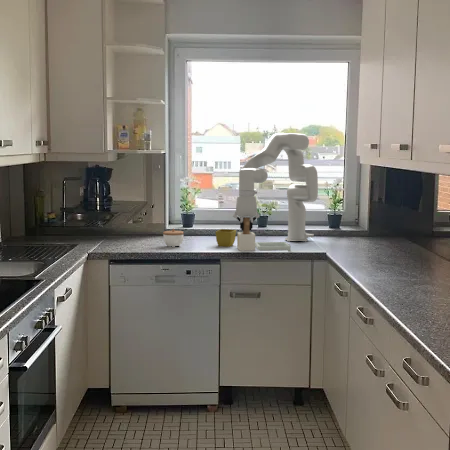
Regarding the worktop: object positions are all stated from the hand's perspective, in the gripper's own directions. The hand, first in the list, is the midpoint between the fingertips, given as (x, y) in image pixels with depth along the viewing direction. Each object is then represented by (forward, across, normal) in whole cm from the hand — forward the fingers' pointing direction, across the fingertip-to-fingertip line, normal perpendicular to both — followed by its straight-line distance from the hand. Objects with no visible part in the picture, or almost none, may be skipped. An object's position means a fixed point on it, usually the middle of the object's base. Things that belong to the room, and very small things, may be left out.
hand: (246, 229), depth 321 cm
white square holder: (+11, 0, 0) cm, 11 cm away
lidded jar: (+11, +36, -18) cm, 42 cm away
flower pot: (+11, +9, -12) cm, 19 cm away
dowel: (+10, 0, 0) cm, 10 cm away
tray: (+11, -14, -4) cm, 18 cm away
